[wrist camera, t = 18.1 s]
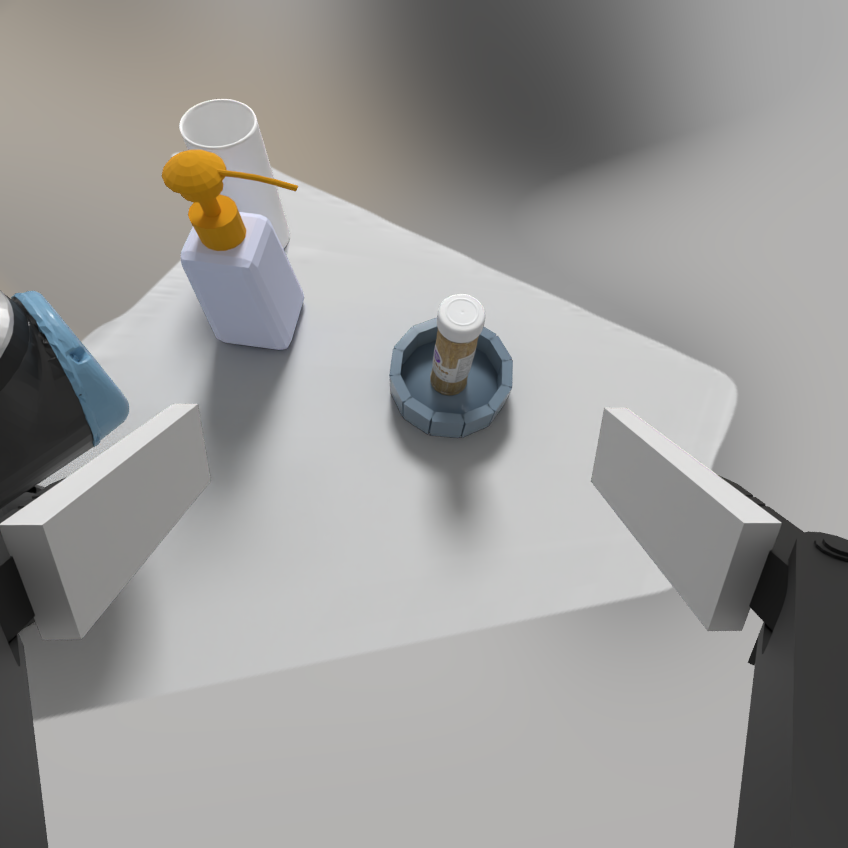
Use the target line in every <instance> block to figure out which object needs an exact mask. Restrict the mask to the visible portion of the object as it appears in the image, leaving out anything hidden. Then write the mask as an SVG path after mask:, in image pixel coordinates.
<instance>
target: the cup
mask: <svg viewBox="0 0 848 848" xmlns="http://www.w3.org/2000/svg"><path fill="white" fill-rule="evenodd" d="M179 128H180V132H181V135H182V137H183V139H184V142H185V144H186V146H187V148H188V150H204V151H208V152H212V153H215V154H216V155H217V156H219V157H220V158H222V159H223V162H224V164H225V166H226V168H227V169H226V170H228V171H236V172H244V173H250V174H255V175H260V176H264V177H268V178H273V179H274V176H273V172H272V169H271V166H270V162H269V159H268V156H267V152H266V149H265V145H264V142H263V139H262V135H261V132H260V128H259V125H258V122H257V118H256V116H255V114H254V112H253V111H252V109H251V108H249V107H248V106H246V105H245V104H243V103H241V102H238V101H235V100H229V99H215V100H209V101H205V102H202V103H199V104H197V105H195V106H193V107H192V108H191V109H189V110H188V111H187V112H186V113H185V114H184V115H183V117H182V118H181V120H180V124H179ZM222 182H223V184H224V185H223V190H222V192H221V193H220V194H221V195H224V196H227V197H229V198H231V199H232V200H233V201H235V204H236V206H237V208H238V211H239V212H244V213H252V214H260V215H263V216H265V217H267V218H268V219H269V220H270V222H271V224H272V226H273V228H274V230H275V232H276V234H277V237H278V239H279V241H280V243H281V245H282V247H283V249H284V248H285V247H286V245H287V244H288V242H289V239H290V230H289V227H288V223H287V220H286V217H285V213H284V210H283V206H282V203H281V200H280V196H279V193H278V189H277V186H275V185H271V184H267V183H263V182H259V181H254V180H248V179H241V178H234V177H226V176H225V178H224V179H223V181H222Z"/></svg>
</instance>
